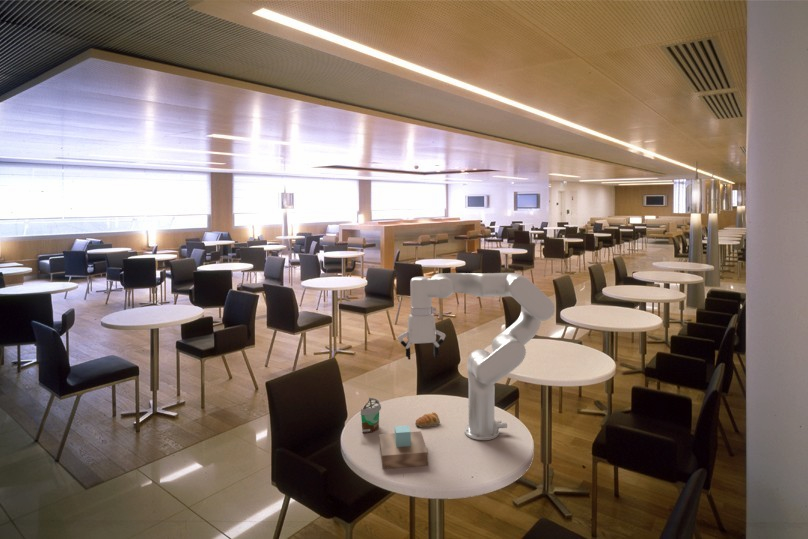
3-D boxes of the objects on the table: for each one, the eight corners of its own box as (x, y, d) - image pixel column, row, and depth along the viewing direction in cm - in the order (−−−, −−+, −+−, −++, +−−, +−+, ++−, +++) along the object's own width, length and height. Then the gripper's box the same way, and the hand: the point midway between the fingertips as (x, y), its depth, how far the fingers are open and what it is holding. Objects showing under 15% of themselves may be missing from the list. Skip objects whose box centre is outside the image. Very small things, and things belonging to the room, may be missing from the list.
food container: (377, 436, 178) (376, 410, 177) (361, 435, 179) (360, 409, 178) (385, 421, 190) (384, 397, 189) (370, 420, 191) (369, 396, 190)
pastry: (420, 430, 183) (420, 420, 182) (412, 423, 189) (411, 414, 188) (441, 424, 187) (441, 415, 187) (432, 418, 193) (432, 409, 192)
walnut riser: (421, 443, 172) (421, 431, 172) (427, 465, 157) (427, 452, 157) (379, 446, 171) (379, 434, 170) (382, 468, 156) (382, 455, 155)
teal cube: (409, 439, 166) (408, 425, 166) (410, 445, 161) (410, 431, 161) (394, 440, 166) (394, 426, 165) (396, 447, 161) (395, 432, 160)
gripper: (443, 308, 175) (443, 353, 178) (396, 310, 174) (397, 356, 176) (447, 312, 168) (447, 359, 170) (398, 314, 166) (399, 362, 168)
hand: (422, 357), depth 173 cm, fingers open, 9 cm apart
